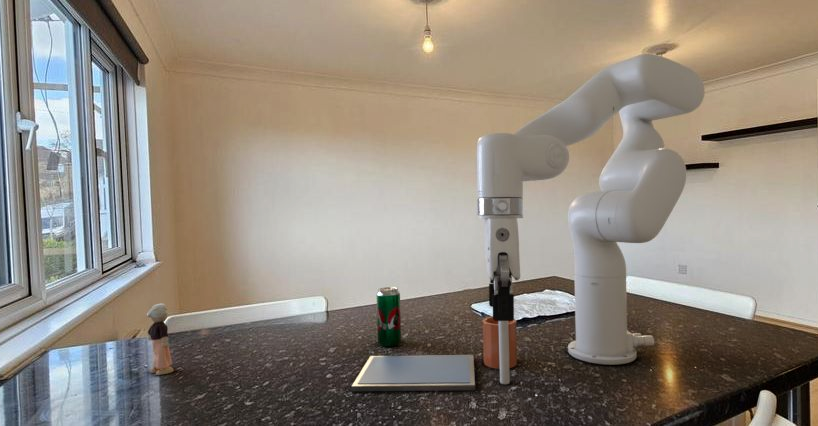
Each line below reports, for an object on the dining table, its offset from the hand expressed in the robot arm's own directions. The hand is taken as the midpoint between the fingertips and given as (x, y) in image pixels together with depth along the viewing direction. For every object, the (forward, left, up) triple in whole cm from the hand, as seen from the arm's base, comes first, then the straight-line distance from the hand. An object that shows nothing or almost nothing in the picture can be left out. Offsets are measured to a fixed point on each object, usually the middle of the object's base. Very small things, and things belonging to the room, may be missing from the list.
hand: (500, 312), depth 71 cm
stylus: (0, 0, -12) cm, 12 cm away
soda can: (+23, -21, -12) cm, 33 cm away
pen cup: (0, -9, -12) cm, 15 cm away
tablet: (+15, -4, -12) cm, 19 cm away
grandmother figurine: (+64, -7, -12) cm, 65 cm away
